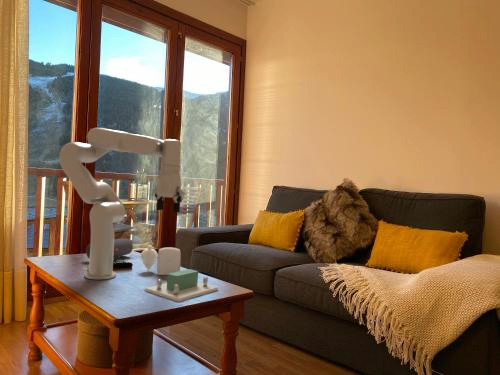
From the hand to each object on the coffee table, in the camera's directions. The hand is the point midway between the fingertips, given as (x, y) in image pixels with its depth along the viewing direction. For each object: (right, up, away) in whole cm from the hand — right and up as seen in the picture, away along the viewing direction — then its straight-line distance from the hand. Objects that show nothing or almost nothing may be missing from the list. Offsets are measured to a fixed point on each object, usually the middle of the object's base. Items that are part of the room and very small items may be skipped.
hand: (167, 211), depth 165 cm
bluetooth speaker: (-38, -27, +40) cm, 61 cm away
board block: (+7, -30, -7) cm, 31 cm away
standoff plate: (+7, -31, -7) cm, 33 cm away
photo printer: (-3, -30, +16) cm, 34 cm away
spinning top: (-13, -29, +20) cm, 38 cm away
